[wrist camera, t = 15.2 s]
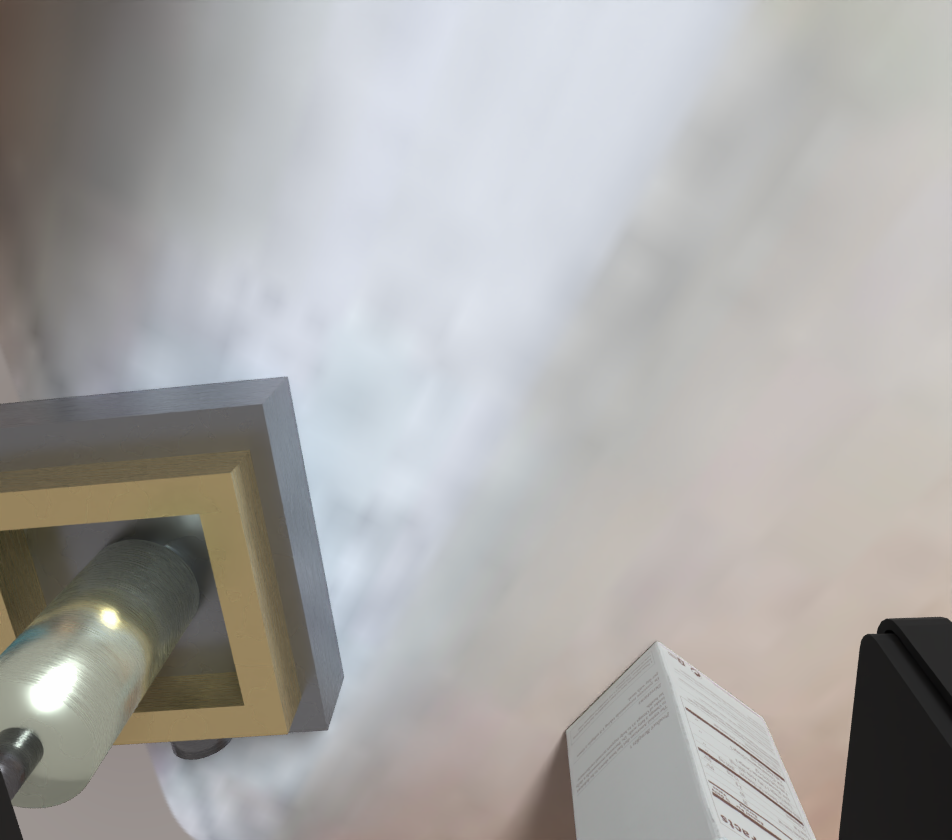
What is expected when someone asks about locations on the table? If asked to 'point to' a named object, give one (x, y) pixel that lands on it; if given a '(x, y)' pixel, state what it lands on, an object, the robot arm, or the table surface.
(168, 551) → the pale green bottle
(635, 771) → the supplement box
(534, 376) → the table surface
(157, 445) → the grey and gold box
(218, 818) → the table surface
